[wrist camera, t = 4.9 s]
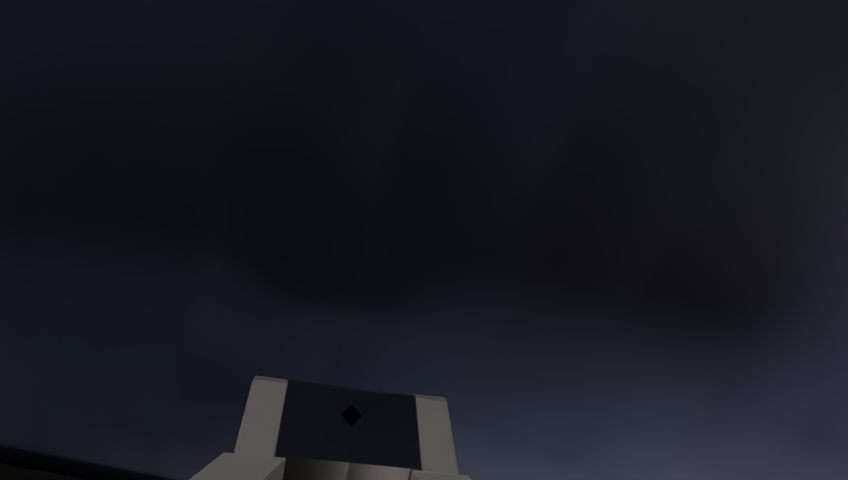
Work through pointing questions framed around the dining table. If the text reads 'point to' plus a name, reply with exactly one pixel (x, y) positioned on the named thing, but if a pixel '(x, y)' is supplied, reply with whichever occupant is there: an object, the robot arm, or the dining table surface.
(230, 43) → the dining table surface
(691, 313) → the dining table surface
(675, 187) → the dining table surface
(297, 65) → the dining table surface
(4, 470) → the black drawer cabinet
